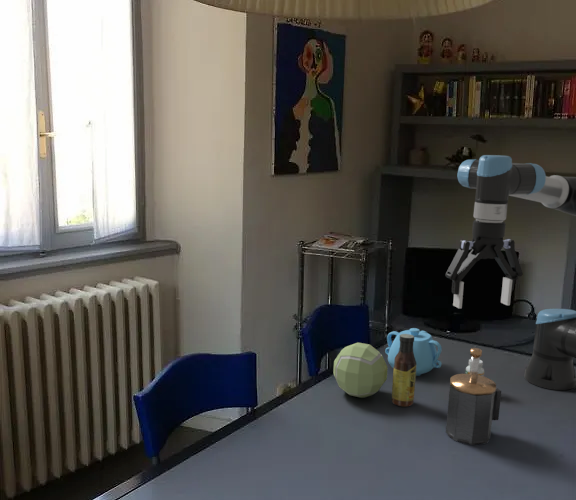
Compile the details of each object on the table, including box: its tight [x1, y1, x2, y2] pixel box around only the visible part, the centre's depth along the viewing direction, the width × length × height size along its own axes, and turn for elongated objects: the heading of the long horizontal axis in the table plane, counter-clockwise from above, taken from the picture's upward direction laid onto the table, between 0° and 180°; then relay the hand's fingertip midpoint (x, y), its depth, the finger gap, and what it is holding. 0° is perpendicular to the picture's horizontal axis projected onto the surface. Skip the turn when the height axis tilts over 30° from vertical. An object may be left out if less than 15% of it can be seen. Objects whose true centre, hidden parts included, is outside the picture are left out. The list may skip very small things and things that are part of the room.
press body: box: [445, 384, 502, 446], centre depth 162 cm, size 14×11×13 cm
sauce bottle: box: [391, 334, 417, 408], centre depth 178 cm, size 7×6×20 cm
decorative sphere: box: [332, 342, 388, 399], centre depth 183 cm, size 15×15×15 cm
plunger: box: [449, 347, 497, 395], centre depth 160 cm, size 11×11×21 cm
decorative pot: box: [384, 327, 443, 377], centre depth 205 cm, size 16×16×14 cm
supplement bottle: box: [464, 358, 485, 377], centre depth 189 cm, size 5×5×10 cm
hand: (481, 305), depth 156 cm, fingers open, 13 cm apart
